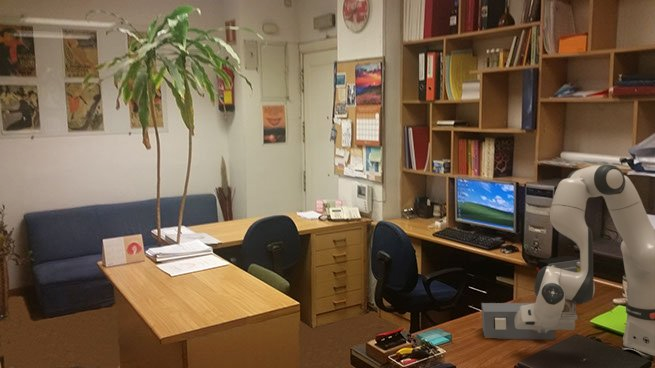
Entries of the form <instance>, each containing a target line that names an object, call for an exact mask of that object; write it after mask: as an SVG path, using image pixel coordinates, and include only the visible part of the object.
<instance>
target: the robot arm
mask: <svg viewBox="0 0 655 368" xmlns="http://www.w3.org/2000/svg"><path fill="white" fill-rule="evenodd" d="M597 197H603V199H604V201H605V204H606V207H607V210H608V212H609V214H610V217H611V219H612V222H613V224H614V227H615V228H616V231H617V232H618V234H619V235H620V238H621V239H622V241H621V243H620V251H621V253H622V259H623V266H624V273H625V279H626V296H627V302H626V303H625V313H626V314H627V315H626V322H625V329H624V334H623V337H622V341H623V343H622V344H623V345H622V346H623V347H625V348H629V349H632V348H634V349H633V350H635V349H636V350H635V351H638V352H642V353H643V354H644V353H645V354H648V355H651V356H653V357H655V228H654V226H653V225H652V222H651V221H650V219H649V217H648V214H647V212H646V209H645V207H644V205H643V201H642V199H641V197H640V195H639V192H638V190H637V189H636V187H635V185H634V184H633V182H632V181H631V179H630V178H629V176H626V175H624V173H623V171H622V170H621V168H619V167H618V166H616V165H612V164H602V165H599V164H598V165H590V166H587V167H583V168H578V169H575V170H572V171H571V172H570V173H569V174H568V175H567V177H566V178H563V179H562V180H560V182H558V185H557V186H556V189H555V192H554V194H553V199H552V202H551V205H550V212H549V213H550V215H549V220H550V221H549V222H550V224H551V226H552V227H553V228H554V229H555V230H556V231H557V232H559V233H560V234H561V235H563V236H564V237H567V238H568V239H569V240H571V241H572V242H574V244H576V245H577V247H578V248H579V258H580V272H572V271H567V270H563V269H560V268H555V267H550V266H545V267H543V268H542V269H541V270H539V272H538V271H537V274H536V277H535V282H534V288H533V289H534V290H533V291H534V293H535V296H536V299H535V302H532V303H533V304H528V305H522V306H520V311H518V312H517V314H516V316H515V319H514V322H515V328H516V329H536V330H538V333H547V331H549V330H555V331H557V330H558V331H572V330H575V327H576V322H575V321H577V320H578V314H576V315H574V314H572V313H568V312H562V311H563V308H564V304H565V299H568V300H571V301H574V302H576V303H578V304H580V305H583V304H586V303H588V302H590V301H592V300H593V297H594V296H595V291H596V287H595V279H594V243H593V242H594V238H593V232H592V228H590V227H589V226H588V225H587V222H586V218H585V213H586V208H587V202H588V199H589V198H597Z"/></svg>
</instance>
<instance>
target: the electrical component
mask: <svg viewBox="0 0 655 368" xmlns="http://www.w3.org/2000/svg"><path fill="white" fill-rule="evenodd" d="M545 266H550V267H555V268H560V269H563V270H567V271H572V272H580V257H576V256H572V255H563V256H557V257H552V258H551V257H550V258H545V259H538V260H537V267H536V270H537V273H538V272H539V270H541V269H542V268H543V267H545Z"/></svg>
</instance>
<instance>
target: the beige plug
mask: <svg viewBox="0 0 655 368" xmlns="http://www.w3.org/2000/svg"><path fill="white" fill-rule="evenodd" d="M494 326H495V329H500V330H506V318H505V317H494Z"/></svg>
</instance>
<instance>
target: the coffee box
mask: <svg viewBox="0 0 655 368" xmlns="http://www.w3.org/2000/svg"><path fill="white" fill-rule="evenodd" d="M576 303H577V302H574V301H571V300H568V299H565V304H564V308H563V311H562V312H568V313H572V314H574V315H577V311H576V309H577V305H576Z"/></svg>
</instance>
